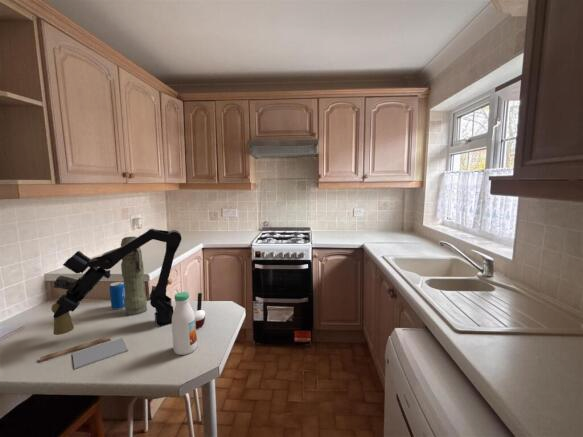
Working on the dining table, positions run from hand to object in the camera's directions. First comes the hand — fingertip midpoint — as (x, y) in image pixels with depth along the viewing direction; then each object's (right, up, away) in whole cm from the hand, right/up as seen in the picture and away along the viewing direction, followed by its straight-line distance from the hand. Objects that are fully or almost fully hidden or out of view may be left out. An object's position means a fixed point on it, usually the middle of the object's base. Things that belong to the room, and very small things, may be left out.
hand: (56, 314), depth 105 cm
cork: (+2, -7, +1) cm, 7 cm away
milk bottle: (+50, -10, -6) cm, 51 cm away
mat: (+21, -11, -6) cm, 24 cm away
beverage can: (+4, -8, +32) cm, 33 cm away
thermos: (+15, -8, +27) cm, 32 cm away
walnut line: (+11, -11, -4) cm, 16 cm away
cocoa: (+49, -9, +11) cm, 51 cm away
